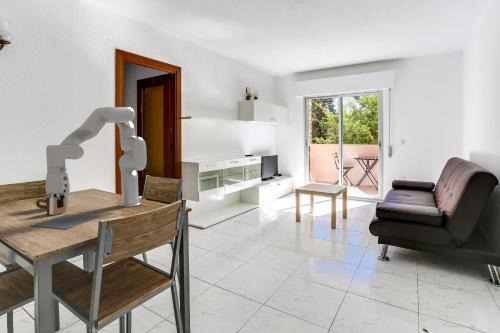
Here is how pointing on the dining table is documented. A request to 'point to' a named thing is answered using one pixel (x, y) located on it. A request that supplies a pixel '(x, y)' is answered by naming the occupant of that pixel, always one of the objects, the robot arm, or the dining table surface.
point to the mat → (64, 221)
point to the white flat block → (54, 206)
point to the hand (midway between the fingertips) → (58, 206)
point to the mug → (45, 205)
